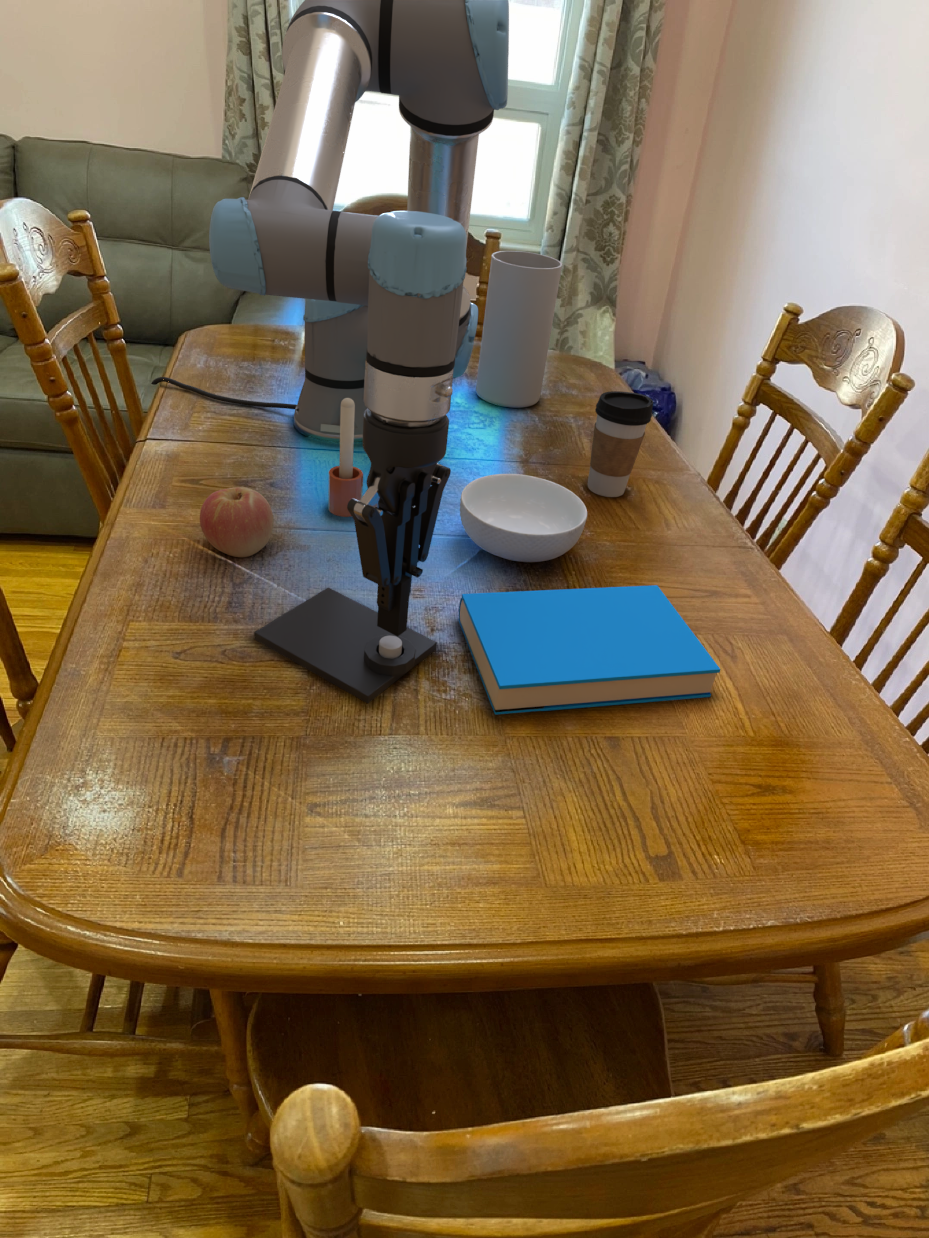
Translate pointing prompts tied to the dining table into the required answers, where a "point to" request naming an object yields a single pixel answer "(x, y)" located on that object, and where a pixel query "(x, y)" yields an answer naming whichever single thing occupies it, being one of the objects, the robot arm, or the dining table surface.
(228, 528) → the apple
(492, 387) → the cylinder vase
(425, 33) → the robot arm
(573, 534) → the cereal bowl
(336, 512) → the pen pot
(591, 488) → the coffee cup
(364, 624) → the tablet
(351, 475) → the beige rod
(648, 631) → the book
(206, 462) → the dining table surface
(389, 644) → the button
